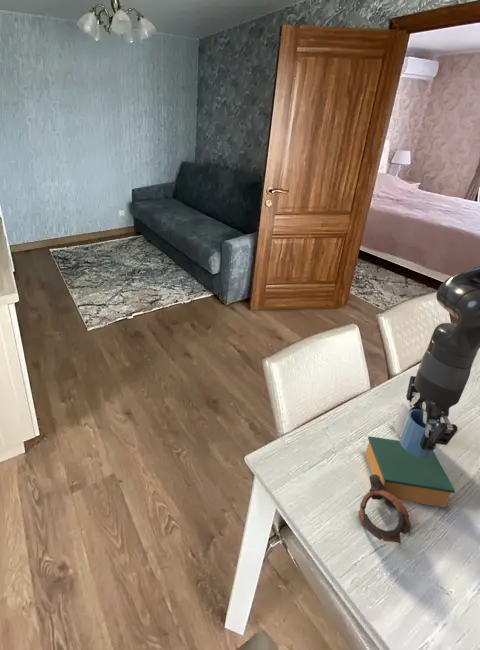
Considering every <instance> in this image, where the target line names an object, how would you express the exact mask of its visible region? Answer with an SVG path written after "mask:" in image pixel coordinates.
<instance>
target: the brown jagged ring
mask: <svg viewBox="0 0 480 650" xmlns="http://www.w3.org/2000/svg"><path fill="white" fill-rule="evenodd" d="M369 481H370V488H369V490H368V492H367V493H366V494H364V496H363V497H362V499H361V500H360V501H361V502H360V505H359V510H358V511H357V514H358V520H359V522H360V524H361V525H362V527H364V529H365V530H366V531H368V533H369V534H371V535H372V536H373V537H375V538H376V539H378V540H380V541H381V540H382V541H383V542H387V543H390V542H391V543H397V544H402V539H401V534H403V535H406V534H409V533H411V530H412V525H411V521H410V513H409V511H408V509H407V507H406V506H405V505H404V504H403V502H402V500H399V499H398V498H396V497H395V496H394V495H392V494H390V493H389V492H387V491H386V489H385V488H384V486H383V484H382V482H381V480H380V477H379V476H378V475H376V474H374V475H372V474H370V476H369ZM370 499H371V500H378V501H380V500H382V499H384V501H385V502H384V504H385V506H388V507H390V508H391V509H394V510H395V511H396V512H397V516H398V522H397V525H396V526H395V528H393V529H390V530H385V529H382V528H380V527H378V526H376V524H374V523H373V522H372V521H371V519H370V518H369V516H368V514H367V513H366V507H367V504H368V501H369V500H370Z"/></svg>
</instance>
